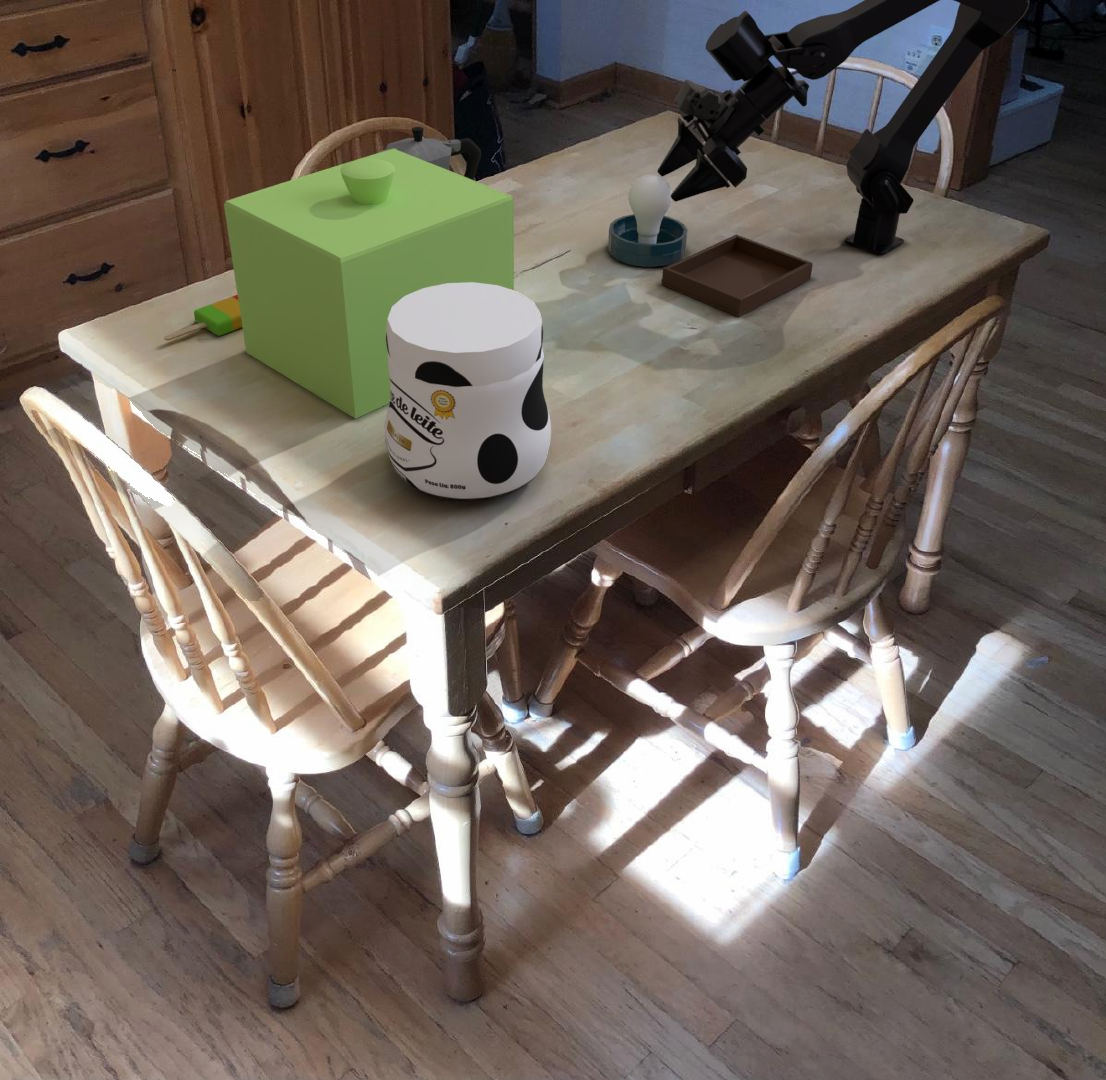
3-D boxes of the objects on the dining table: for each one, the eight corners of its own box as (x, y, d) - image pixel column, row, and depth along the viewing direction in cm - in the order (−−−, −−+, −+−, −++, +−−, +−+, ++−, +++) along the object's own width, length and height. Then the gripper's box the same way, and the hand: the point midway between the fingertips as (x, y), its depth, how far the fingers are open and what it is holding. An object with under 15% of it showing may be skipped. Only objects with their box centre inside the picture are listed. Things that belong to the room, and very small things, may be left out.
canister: (402, 289, 164) (392, 117, 150) (513, 344, 152) (513, 163, 138) (246, 352, 150) (218, 168, 136) (355, 418, 138) (337, 224, 124)
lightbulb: (639, 262, 172) (644, 186, 165) (617, 245, 176) (621, 171, 169) (676, 254, 174) (682, 179, 167) (653, 238, 178) (659, 164, 171)
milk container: (359, 494, 126) (343, 339, 115) (429, 413, 139) (421, 266, 128) (515, 531, 122) (514, 373, 111) (572, 443, 135) (577, 293, 124)
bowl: (642, 230, 181) (644, 207, 179) (700, 252, 175) (702, 229, 173) (592, 251, 175) (593, 228, 173) (650, 275, 169) (652, 252, 167)
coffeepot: (388, 274, 168) (379, 144, 157) (369, 247, 175) (359, 121, 164) (493, 257, 173) (492, 130, 162) (471, 232, 179) (468, 108, 169)
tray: (734, 250, 176) (736, 234, 174) (810, 279, 169) (813, 262, 167) (661, 285, 167) (662, 267, 165) (738, 317, 159) (740, 299, 158)
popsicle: (280, 314, 158) (278, 300, 157) (178, 353, 149) (175, 339, 148) (255, 300, 161) (253, 287, 160) (154, 338, 152) (151, 324, 151)
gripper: (700, 41, 167) (616, 123, 173) (733, 83, 152) (640, 172, 158) (749, 98, 173) (666, 176, 178) (785, 144, 158) (694, 228, 164)
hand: (665, 186), depth 169 cm, fingers open, 9 cm apart
